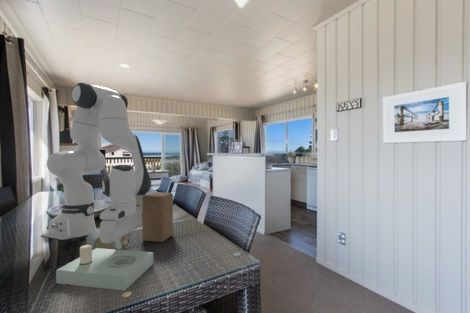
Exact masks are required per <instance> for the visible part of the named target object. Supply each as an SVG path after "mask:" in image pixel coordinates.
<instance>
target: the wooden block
mask: <svg viewBox="0 0 470 313" xmlns="http://www.w3.org/2000/svg"><path fill="white" fill-rule="evenodd" d="M173 196H174V195H173V193H172V192H159V191H153V192H151V193H146V195H144V196H143V197H142V241H145V242H152V243H153V242H156V243H163V242H165V241H166V240H168V239H169V238H170V237H172V236H173V234H174V233H173V232H174V231H173V230H174V228H173V226H174V224H173V221H174V220H173V219H174V218H173V214H174V213H173V211H174V207H173V206H174V204H173V201H174V199H173Z"/></svg>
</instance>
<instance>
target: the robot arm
mask: <svg viewBox="0 0 470 313" xmlns="http://www.w3.org/2000/svg"><path fill="white" fill-rule="evenodd" d="M71 100H72V102H73V103H74V105H75V106H76V108H75V111H74V115H73V118H72V123H71V127H70V133H69V136H70V138H71V140H73V142H75V143H77V146H78V148H77V150H63V151H61V150H60V151H56V152H52V153H51V154H50V155H49V156H48V158H47V160H46V168H47V169H48V171H49V172H50V173H51V174H52V175H54V176H55V177H57V178H58V179H59V180H60V182H61V183H62V184H61V185H62V186H63V191H64V204H63V205H59V209H61V212H60V213H59V214H57V215H56V216H55V217H54V218H52V219H51V220H50V221H49V222H48V228H47V230H45V231H44V232H43V231H42V233H41V237H46V238H50V239H56V240H62V241H63V240H70V239H75V238H82V237H84V236H86V237H87V236H88V235H89V234H90V233H91V232H92V231H94V230H96V229H97V226H96V222H95V215H94V211H95V210H94V209H95V205H94V204H95V202H94V201H93V200H94V198H93V197H94V196H93V195H94V193H93V192H94V190H93V186H92V184H90V182H87V181H85V179H84V178H83V175H84V174H92V173H93V174H95V173H97V172H100V171H103V170H104V168H105V167H106V164H107V161H106V157H105V155H104V154H103V153H102V152H101V151H100V147H99V138H100V137H99V134H100V135H101V137H102V138H103V139H104V140H105V141H106V142H107V143H109V144H112V145H114V146H118V147H119V148H122V149H124V150H126V151H128V152H129V153H130V156H131V159H132V162H133V166H132V165H127V164H117V165H114V166H112V167H111V170H110V173H107V174H106V175H104V176H103V177H102V178H101V193H102V194H103V195H104V196H105V197H108V198H110V200H109V201H110V202H109V205H108V206H107V207H106V208H105V209H104V210H103V211H101V213H100V214H99V220H101V222H100V224H99V229H100V240H101V242H102V243H112V242H115V244H116V249H115V250H119V249H122V248H123V243H121V239H122V237H123V236H124V235H126V234H127V238H128V245H130V244H131V243H132V237H133V235H134V231H135V230H137V229H139V228H140V227H142V226H143V216H142V212H141V210H140V206H139V205H138V204H136V196H137V195H145V194H146V195H147V194H148V192H150V190H151V189H152V180H151V176H150V173H149V171H148V168H147V164H146V161H145V160H146V159H145V156H144V153H143V149H142V146H141V142H140V140H139V137H138V135H136V134H134V133H133V131H132V130H131V128H130V127H131V126H130V124H129V116H128V114H129V113H128V111H127V110H128V106H129V102H128V97H127V96H126V95H125V94H123V92H120V91H117V90H113V89H111V88H108V87H105V86H99V85H97V84H96V85H94V84H90V83H88V82H78V83H76V84H75V85H74V87H73V88H72V90H71Z"/></svg>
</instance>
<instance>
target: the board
mask: <svg viewBox="0 0 470 313" xmlns="http://www.w3.org/2000/svg"><path fill="white" fill-rule="evenodd" d="M153 265H154V252H153V251H152V252H151V251H140V250H139V251H138V250H128V249H127V250H119V249H115V248H114V249H112V248H110V249H102V248H96V249H94V250H92V245H87V244H85V245H81V246H80V247H79V257H77V258H75V259H74V260H72V261H70V262H67V263H66V264H65V265H63V266H61V267H59V268H57V269H56V270H55V273H56V276H55V279H56V282H55V283H56V284H57V283H58V285H66V284H69V285H68V286H77V287H88V288H96V289H105V290H114V291H115V290H116V291H126V290H127V289H128V288H130V287H131V285H132V284H134V283H135V282H136V281H137V280H138V279H140V277H141V276H142V275H144V273H145V272H147V270H149V268H151V267H152V266H153Z"/></svg>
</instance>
